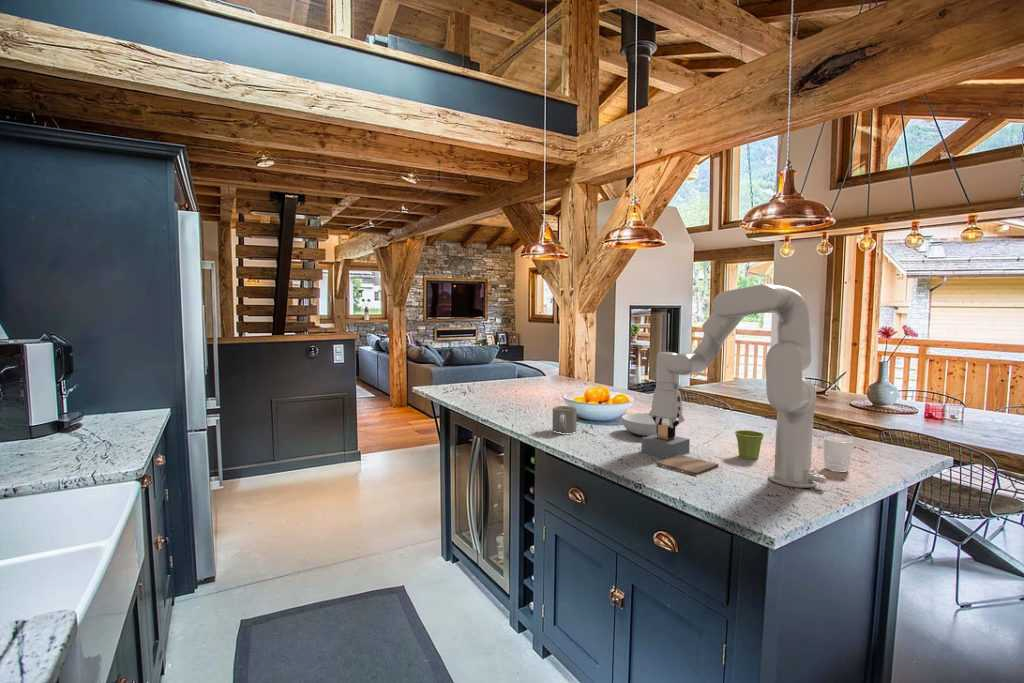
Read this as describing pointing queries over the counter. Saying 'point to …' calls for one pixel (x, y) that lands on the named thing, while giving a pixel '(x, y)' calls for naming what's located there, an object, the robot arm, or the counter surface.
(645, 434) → the serving bowl
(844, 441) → the white cup
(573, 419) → the coffee mug
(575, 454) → the counter surface
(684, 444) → the socket block
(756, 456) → the plant pot
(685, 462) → the walnut mat
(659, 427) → the copper peg
